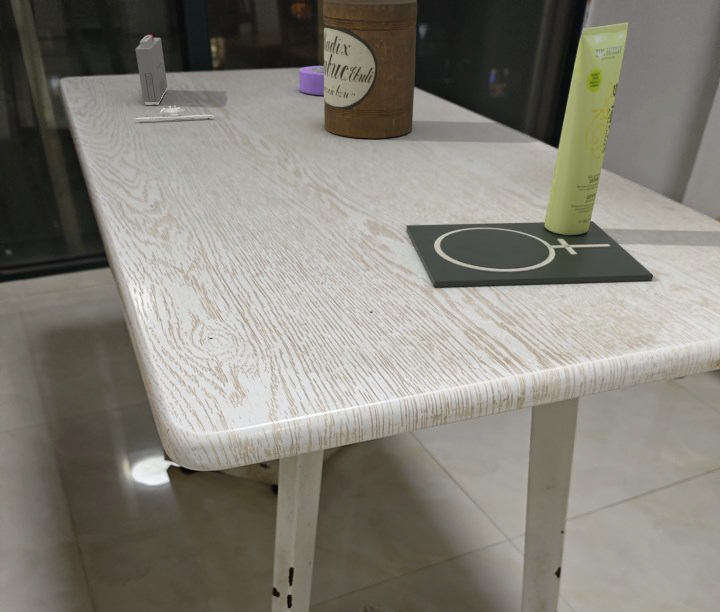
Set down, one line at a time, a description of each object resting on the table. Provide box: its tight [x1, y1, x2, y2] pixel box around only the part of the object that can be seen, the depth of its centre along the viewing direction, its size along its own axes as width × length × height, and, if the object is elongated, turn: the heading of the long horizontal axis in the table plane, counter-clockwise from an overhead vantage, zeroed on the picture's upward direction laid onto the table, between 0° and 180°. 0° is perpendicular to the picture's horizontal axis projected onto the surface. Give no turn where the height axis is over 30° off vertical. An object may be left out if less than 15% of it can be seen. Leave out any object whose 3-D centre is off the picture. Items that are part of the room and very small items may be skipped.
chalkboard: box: [405, 220, 654, 288], centre depth 75 cm, size 22×16×1 cm
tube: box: [544, 21, 629, 235], centre depth 73 cm, size 6×5×20 cm
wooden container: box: [322, 0, 418, 139], centre depth 112 cm, size 15×15×22 cm
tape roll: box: [298, 65, 324, 96], centre depth 144 cm, size 12×12×4 cm
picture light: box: [135, 105, 216, 119], centre depth 122 cm, size 14×4×2 cm, turn 108°
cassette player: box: [134, 34, 168, 103], centre depth 134 cm, size 16×3×10 cm, turn 6°
